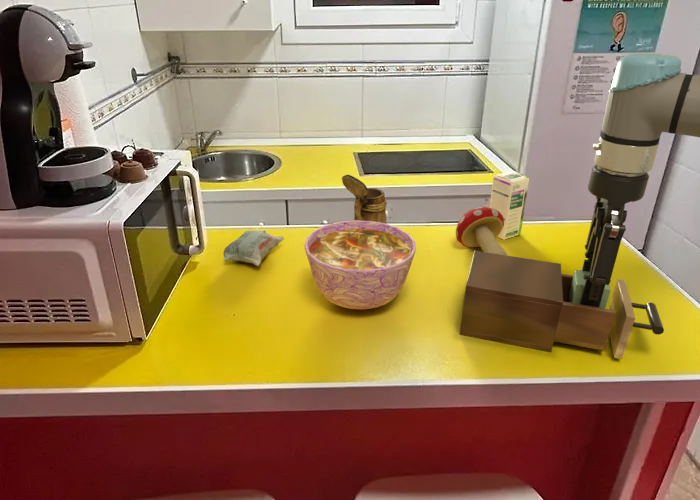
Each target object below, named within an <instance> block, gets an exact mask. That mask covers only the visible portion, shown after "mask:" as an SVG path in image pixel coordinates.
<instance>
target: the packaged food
mask: <svg viewBox="0 0 700 500" xmlns="http://www.w3.org/2000/svg"><path fill="white" fill-rule="evenodd" d="M284 238H285V237H284V236H281V235H280V236H276V235H273V234H271V233H268V232H266V230H245V231H244V232H243V233H242V234H241V235H240V236H238V237H237V238H236V239H235V240H233V241H231V243H229V244H228V245H227V246H225V247H224V250H223V261H225V262H228V261H230V260H231V261H236V262H241V263H246V264H253V265H254V266H257V267H259V266H260V265H261V263H262V261H263V260H264V258H265V257H266V256H267V255H269V254H270V253H271V252H272V251H273V250H274V249H275V248H277V247H278V246H279V245H280V243H282V242H283V241H284V240H285V239H284Z"/></svg>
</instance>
